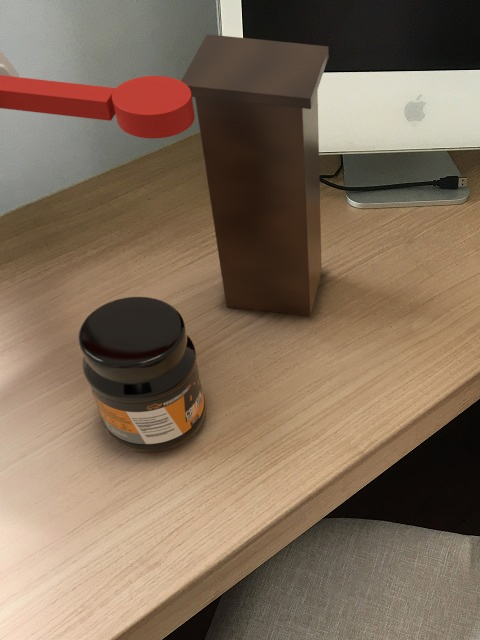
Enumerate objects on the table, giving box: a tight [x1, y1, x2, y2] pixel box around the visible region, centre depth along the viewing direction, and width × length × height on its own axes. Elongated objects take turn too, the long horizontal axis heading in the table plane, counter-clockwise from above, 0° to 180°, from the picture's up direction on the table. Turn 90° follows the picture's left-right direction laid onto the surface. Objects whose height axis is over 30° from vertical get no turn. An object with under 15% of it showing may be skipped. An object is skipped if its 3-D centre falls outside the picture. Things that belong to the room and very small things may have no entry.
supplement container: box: [78, 296, 207, 452], centre depth 77 cm, size 10×10×12 cm
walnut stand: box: [180, 33, 330, 317], centre depth 83 cm, size 12×10×26 cm
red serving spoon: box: [0, 75, 196, 139], centre depth 66 cm, size 22×6×2 cm, turn 83°
